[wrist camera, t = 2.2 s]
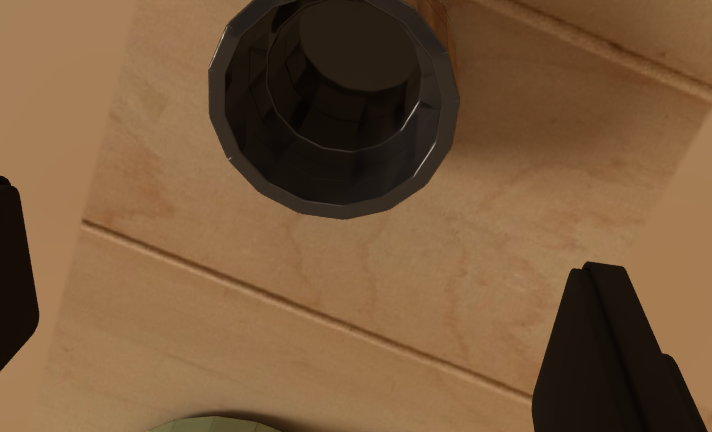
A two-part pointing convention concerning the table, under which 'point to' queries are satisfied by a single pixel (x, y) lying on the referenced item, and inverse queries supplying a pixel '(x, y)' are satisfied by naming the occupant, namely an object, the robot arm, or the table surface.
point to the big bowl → (212, 425)
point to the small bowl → (336, 100)
